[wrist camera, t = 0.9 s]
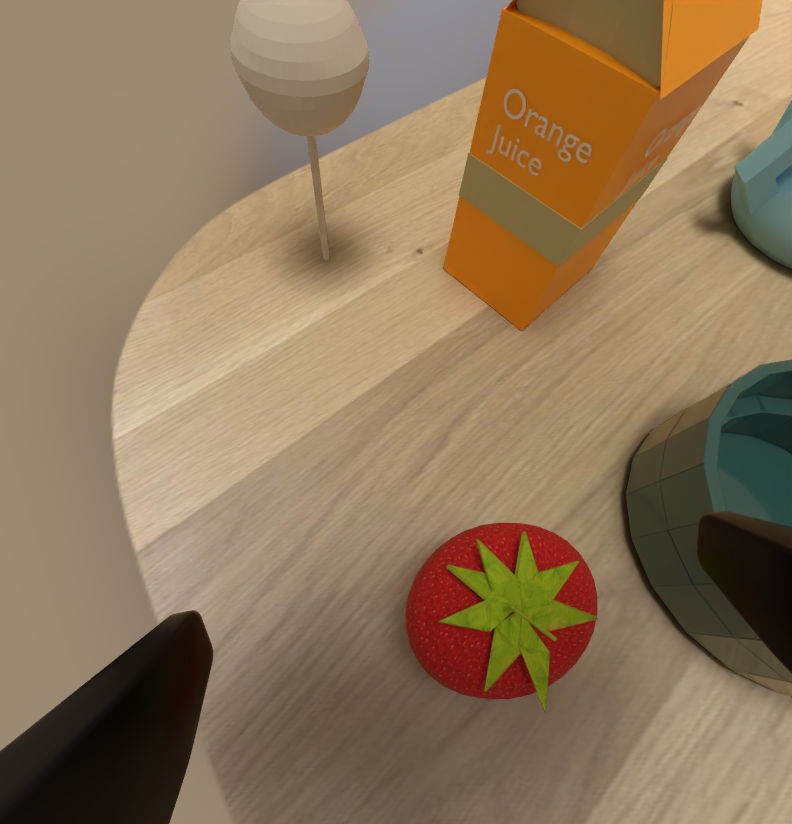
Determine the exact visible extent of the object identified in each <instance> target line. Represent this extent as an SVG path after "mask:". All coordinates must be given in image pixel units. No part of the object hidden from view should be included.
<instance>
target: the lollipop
mask: <svg viewBox="0 0 792 824" xmlns="http://www.w3.org/2000/svg"><path fill="white" fill-rule="evenodd" d="M230 49H231V55H232V61H233V65H234V67H235V69H236V72H237V74H238V76H239V78H240V79H241V81H242V83H243V85H244V87H245V89H246V91H247V93H248V95H249V97H250V99H251V100H252V101H253V102H254V104H255V105H256V106H257V107H258V109H259V110H260V111H261V112H262V114H263V115H264V116H265V117H266V118H268V119H269V120H270V121H271V122H272V123H274V124H275V125H276V126H277V127H279V128H281V129H284V130H285V131H288V132H290V133H292V134H295V135H299V136H307V140H308V148H309V155H310V163H311V170H312V178H313V185H314V193H315V200H316V208H317V215H318V223H319V230H320V238H321V245H322V253H323V259H324V260H325V261H328V260H329V259H330V258H329V249H328V240H327V231H326V223H325V214H324V205H323V196H322V188H321V179H320V170H319V162H318V153H317V144H316V136H319V135H323V134H326V133H329V132H330V131H332V130H334V129H336V128H337V127H339V126H340V125H341V124H343V123H344V121H345V120H346V119H347V118H348V117H349V115H350V114H351V113H352V112H353V110H354V108H355V106H356V104H357V102H358V100H359V98H360V95H361V92H362V88H363V85H364V81H365V78H366V75H367V72H368V69H369V55H368V46H367V42H366V39H365V37H364V35H363V32H362V30H361V28H360V25H359V23H358V21H357V19H356V16H355V14H354V12H353V9H352V8H351V6H350V5H349V3H348V2H347V0H240V2H239V5H238V8H237V10H236V15H235V20H234V25H233V30H232V35H231V39H230Z"/></svg>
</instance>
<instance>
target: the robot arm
mask: <svg viewBox="0 0 792 824" xmlns="http://www.w3.org/2000/svg"><path fill="white" fill-rule="evenodd" d="M697 558H698V561H699V564H700V565H701V567H702V569H703V570H704V571H705V573H706V574H707V575H708V576H709V578H710V579H711V580H712V581H713V582H714V584H715V585H716V586H717V587H718V589H719V590H720V591H721V592H722V593H723V595H724V596H725V597H726V598H727V599H728V601H729V602H730V603H731V604H732V606H733V607H734V608H735V609H736V610H737V612H738V613H739V614H740V615H741V617H742V618H743V619H744V620H745V621H746V623H747V624H748V625H749V626H750V628H751V629H752V630H753V631H754V632H755V634H756V635H757V636H758V637H759V638H760V640H761V641H762V642H763V643H764V644H765V645H766V647H767V648H768V649H769V650H770V651H771V652H772V653H773V654H774V656H775V657H776V658H777V659H778V660H779V661H780V662H781V663H782V664H783V665H784V666H785V667H786V668H787V669H788V671H789V672H790V673H791V674H792V527H789V526H785V525H781V524H777V523H773V522H769V521H765V520H761V519H757V518H753V517H749V516H745V515H741V514H737V513H733V512H729V511H720V512H714V513H709V514H704V515H703V516H701V517H700V519H699V521H698V533H697ZM212 661H213V648H212V644H211V642H210V639H209V636H208V633H207V631H206V628H205V625H204V623H203V620H202V617H201V615H200V614H199V613H198V612H197V611H194V610H192V611H186V612H181V613H176V614H173V615H171V616H169V617H168V618H166V619H165V620H164V621H163V622H161V623H160V624H159V625H158V626H156V627H155V628H154V629H153V630H151V631H150V632H149V633H148V634H147V635H145V636H144V637H143V638H141V639H140V640H139V641H138V642H136V643H135V644H134V645H133V646H131V647H130V648H129V649H128V650H126V651H125V652H124V653H123V654H122V655H120V656H119V657H118V658H116V659H115V660H114V661H113V662H111V663H110V664H109V665H108V666H106V667H105V668H104V669H103V670H101V671H100V672H99V673H98V674H96V675H95V676H94V677H92V678H91V679H90V680H89V681H87V682H86V683H85V684H84V685H82V686H81V687H80V688H79V689H77V691H75V692H74V693H73V694H71V695H70V696H69V697H67V698H66V699H65V700H64V701H62V702H61V703H60V704H59V705H57V706H56V707H55V708H54V709H52V710H51V711H50V712H49V713H47V714H46V715H45V716H44V717H42V718H41V719H40V720H39V721H38V722H36V723H35V724H34V725H33V726H31V727H30V728H29V729H27V730H26V731H25V732H24V733H22V734H21V735H20V736H19V737H17V738H16V739H15V740H14V741H12V742H11V743H10V744H8V745H7V746H6V747H5V748H3V749H2V750H1V751H0V824H169V823H170V819H171V816H172V813H173V810H174V807H175V804H176V801H177V798H178V795H179V792H180V788H181V785H182V783H183V779H184V776H185V773H186V769H187V766H188V763H189V759H190V755H191V751H192V747H193V743H194V739H195V735H196V731H197V726H198V722H199V718H200V713H201V709H202V705H203V700H204V696H205V692H206V687H207V683H208V679H209V675H210V670H211V666H212Z"/></svg>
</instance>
